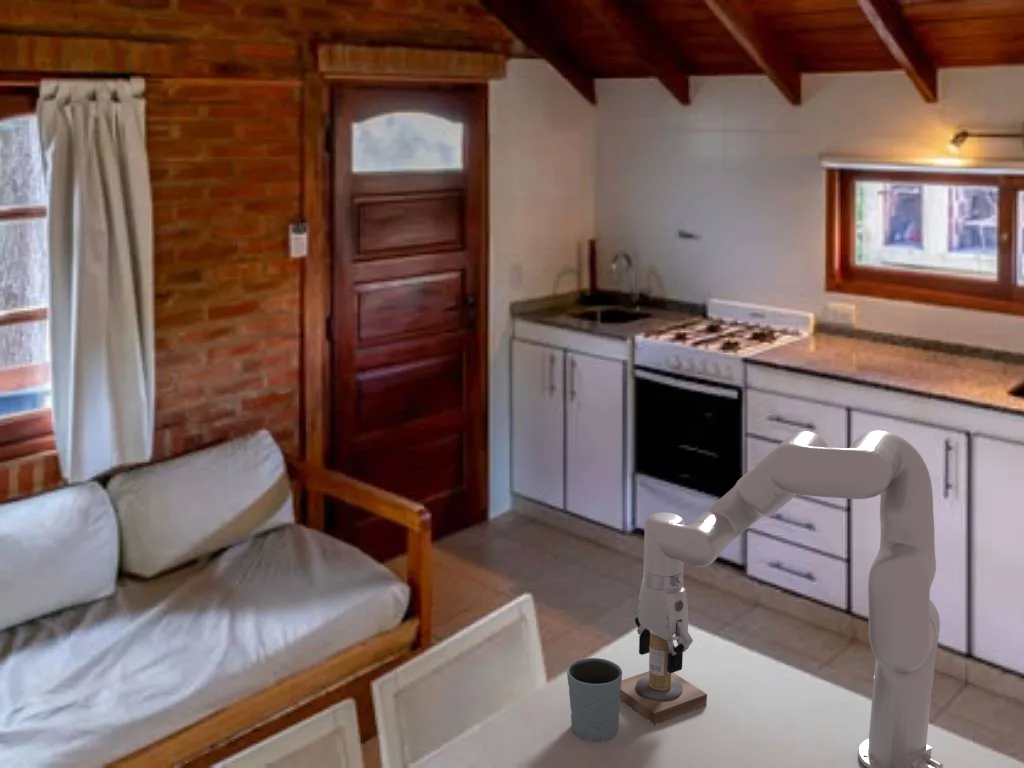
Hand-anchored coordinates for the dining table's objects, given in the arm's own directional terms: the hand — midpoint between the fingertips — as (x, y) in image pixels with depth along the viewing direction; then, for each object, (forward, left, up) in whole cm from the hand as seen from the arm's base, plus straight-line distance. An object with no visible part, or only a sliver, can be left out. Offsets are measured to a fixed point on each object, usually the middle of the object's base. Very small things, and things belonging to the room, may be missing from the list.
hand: (660, 661), depth 210 cm
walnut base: (0, 0, -8) cm, 8 cm away
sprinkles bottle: (0, 0, -6) cm, 6 cm away
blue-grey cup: (-1, +17, -9) cm, 19 cm away
